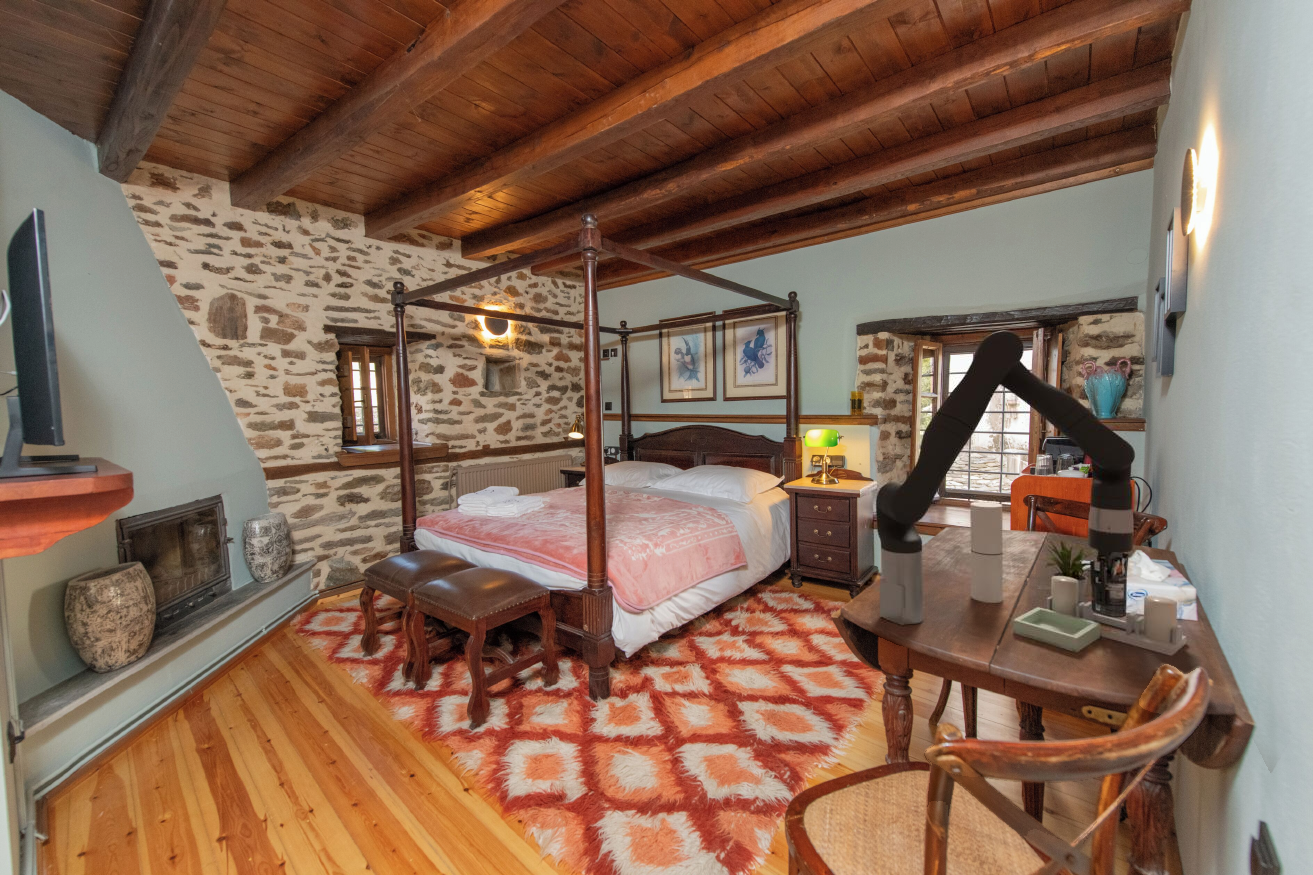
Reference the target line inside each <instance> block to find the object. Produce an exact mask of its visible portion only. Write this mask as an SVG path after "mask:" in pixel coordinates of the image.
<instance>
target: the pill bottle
mask: <svg viewBox="0 0 1313 875" xmlns="http://www.w3.org/2000/svg"><path fill="white" fill-rule="evenodd" d="M1120 572H1121V565H1119V568H1117V571H1116V576H1115V580H1112V581H1111V586H1110V605H1109V606H1107V607H1105V606H1101V605H1098V604H1097V603H1096V587H1094V586H1091V599H1090V600H1091V601H1090V602H1092V611H1093V612H1094V613H1095V614H1099V615H1102V616H1106V617H1111V618H1115V619H1120V618H1126V616H1127V599H1128V598H1127V594H1128V593H1127V590H1128V589H1127V587H1128V584H1127V583H1128V580H1127V578H1126V577H1125V576H1124V575H1123V574H1121V573H1120ZM1107 575H1110V574H1107ZM1100 582H1101V583H1102V579H1101V578H1100Z"/></svg>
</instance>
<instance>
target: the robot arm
mask: <svg viewBox="0 0 1313 875" xmlns="http://www.w3.org/2000/svg"><path fill="white" fill-rule="evenodd" d="M1024 347H1025V346H1024V342H1023V340H1022V339H1021V337H1020V336H1019V335H1018V334H1017V333H1015V332H1014V331H1010V330H1000V331H999V330H997V331H995V332H993V333H991V334H988V335H987V336H985V337H984V338H983V339H982V341H980V343H979V345H977V348H976V350H975V352H974V355H973V359H972V361H971V364H970V365H969V367H968V369H967V371H966V372H965V374H964V375H963V377H962V379H961V380H960V381H959V383H958V384H957V385H956V386H955V388H954V389H953V390H952V391H951V392H950V394H949V395H948V396H947V397H946V398H945V400H944V401H943V402H942V403H941V405H940V406H939V408H937V411H936V412H935V414H934V415H933V417H932V418H931V419H930V421H929V423H928V424H927V427H926V428H925V431H924V432H923V435H922V437H921V438H922V439H921V444H920V448H919V455H918V458H917V461H916V463H915V465H914V467H913V469H912V471H911V472H910V474H909V475H908V476H907V478H906V479H905V481H904V482H899V481H890V482H887V483H885V484H883V486H881V487H880V488H879V490H878V492H877V494H876V500H875V501H876V502H875V514H876V529H877V534H878V537H879V538H878V539H879V540H880V565H881V566H880V570H881V571H880V572H881V575H880V578H881V579H879V617H880V616H882V617H884V618H886V619H888V620H887V621H889V620H890V621H889V622H892V623H896V624H898V625H900V626H904V625H914V624H915V625H917V624H921V623H922V622H923V621H924V594H923V592H924V591H923V586H924V585H923V540H922V537H921V536H920V535H919V533H918V531H917V529H916V526H915V524H916V523H918V522H919V521H920V520H922V519H923V518H924V516H926V514H927V512H928V510H929V508H930V507H931V504H932V502H933V501H934V498H935V496H936V494H937V493H938V490H939V488H940V487H941V484H942V482H943V480H944V478H946V475H947V474H948V472H949V471H950V470H951V468H952V466H953V465H954V463H955V461H956V459H957V458H958V456H959V455H960V454H961V452H962V451H963V449H964V448H965V447H966V445H967V444H968V442H969V440H970V439H971V437H972V436H973V434H974V432H975V431H976V429H977V427H978V425H979V424H980V422H981V420H982V419H983V416H984V414H985V413H986V410H987V408H988V406H989V404H990V402H991V400H992V398H993V396H994V394H995V392H996V390H997V389H998V388H999V387H1000V386H1001V387H1003V388H1005V389H1006V390H1008V391H1009V392H1010V393H1012V394H1013V395H1015V396H1016V397H1018V398H1019V399H1020V400H1022V401H1023V402H1024V403H1025V404H1027V405H1028V406H1030V407H1031V408H1032V409H1034V410H1035V411H1036V412H1037V413H1038V414H1039V415H1040V416H1042V417H1043V418H1044V419H1045V420H1046V421H1047V422H1048V423H1050V425H1051V426H1053V427H1054V428H1055V429H1057V430H1058V431H1059V432H1060V433H1061V434H1062V435H1063V436H1065V437H1066V438H1067V439H1069V440H1070V441H1072V442H1073V443H1074V444H1075V445H1076V446H1077V448H1079V449H1080V450H1081V451H1082V452H1083V453H1084V454H1085V455H1086V456H1087V457H1088V458H1089V459H1090V460H1091V475H1092V476H1091V477H1092V482H1091V488H1090V489H1091V490H1090V507H1089V508H1090V509H1089V514H1088V542H1087V544H1088V546H1089V547H1090V548H1092V549H1093V550H1095V549H1096V551H1097V555H1096V556H1095V557H1094V558H1095V559H1091V560H1090V561H1089V563H1090V565H1089V568H1090V569H1089V570H1090V586H1091V587H1092V586H1094V587H1096V603H1097V604H1098V605H1101V606H1105V607H1107V606H1109V605H1110V586H1111V581H1112V580H1115V576H1116V571H1117V568H1119V565H1121V572H1120V573H1121V574H1123V575H1124V576H1125V577H1126V579H1127V578H1128V568H1129V567H1128V566H1129V556H1130V554H1129V553H1130V552H1132V551H1133V549H1134V514H1133V513H1134V512H1133V496H1134V495H1133V487H1132V484H1131V477H1132V464H1133V462H1134V461H1135V456H1136V453H1135V450H1134V447H1133V446H1132V444H1131V443H1129V442H1128V441H1127V440H1125V439H1124V438H1122V437H1121V436H1120V435H1119V434H1117V433H1116V432H1115V431H1114V430H1112V429H1111V428H1109V426H1107V425H1106V424H1104V423H1103V422H1102V421H1101V420H1100V419H1099V418H1098V417H1097V416H1096V415H1095V413H1093V412H1092V411H1091V410H1090V409H1088V408H1087V407H1086V406H1085V405H1083V404H1082V403H1081V402H1080V401H1078V399H1077V398H1075V397H1074V396H1072V395H1071V394H1069V393H1067V392H1065V391H1064V390H1062V389H1060V388H1058V387H1057V386H1054V385H1052V384H1050V383H1048V382H1046V381H1045V380H1043V379H1041V377H1038V376H1037V375H1035V374H1034V373H1033V372H1031V371H1030V370H1029V369H1028V368H1027V366H1025V364H1024V363H1022V361H1021V359H1022V357H1023V355H1024ZM1107 574H1110V575H1107ZM1100 578H1101V579H1102V583H1101V582H1100ZM886 619H885V620H886Z"/></svg>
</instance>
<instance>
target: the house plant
mask: <svg viewBox="0 0 1313 875" xmlns="http://www.w3.org/2000/svg"><path fill="white" fill-rule="evenodd" d="M1041 538H1043V539H1045V540H1046V541H1048V542H1049V543H1050V544H1051V546H1052V547H1051V546H1050V545H1048V544H1045V543H1043V546H1042V548H1043V549H1045V550H1047V551H1048V552H1049V553H1050V554H1051V555H1052V556H1050V557H1048V558H1047V559H1050V560H1051V562H1049V561H1047V564H1046V565H1045V568H1048V567H1051V566H1053V568H1055V569H1056V570H1057V571H1056V572H1053V573H1052V577H1054V576H1065V577H1070V578H1074V579H1076V580H1078V604H1080V603H1082V602H1084V596H1085V592H1086V588H1087V584H1088V577H1087V576H1085V575H1083V574H1084V573H1085V572H1086V571H1088V570H1090V567H1088V568H1086V569H1084V567H1087V566H1090V562H1086V563H1085V562H1084V563H1083V561H1084V560H1086V558H1088V557H1089V556H1091V554H1092V555H1093V553H1094V552H1096V551H1097V550H1096V549H1092V550H1091V551H1089V552H1087V551H1084V550H1085V547H1086V544H1083V546H1082V548H1080V550H1079V553H1078V554H1077V555H1076V556H1075V557H1073V558H1072V552H1073V548H1074V547H1075V546H1076V545H1077V544H1076V543H1075V544H1074V545H1073V544H1071V546H1070V547H1069V549H1068V548H1067V546H1066V545H1065V543H1064V542H1063V540H1062V539H1061V538H1059V537H1058V538H1057V540H1058V542H1059V543H1060V548H1061V550H1058V549H1057V546H1055V544H1054V543H1053V542H1052V541H1051V540H1049V539H1048V538H1046V537H1043V536H1041ZM1075 540H1076V538H1074V540H1073V541H1075ZM1037 544H1039V545H1040V544H1041V543H1037ZM1044 546H1047V547H1049V549H1051V550H1049V549H1048V548H1047V547H1044ZM1052 551H1053V552H1054V554H1055V555H1056V556H1057V557H1058V558H1057V557H1056V556H1055V555H1054V554H1053V552H1052ZM1086 553H1087V554H1086ZM1071 559H1072V560H1071ZM1038 560H1040V561H1042V559H1038ZM1043 561H1045V562H1046V560H1045V559H1043ZM1055 566H1058V568H1059V569H1060V570H1059V569H1058V568H1057V567H1055Z"/></svg>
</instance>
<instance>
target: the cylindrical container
mask: <svg viewBox="0 0 1313 875" xmlns="http://www.w3.org/2000/svg"><path fill="white" fill-rule="evenodd" d="M969 506H970V514H969V515H970V516H969V517H970V518H969V519H970V597H971V598H972V599H973V600H975V601H979V602H982V603H988V604H989V603H991V604H997V603H1002V602H1003V601H1004V600H1003V595H1004V592H1003V591H1004V590H1003V588H1004V587H1003V586H1004V585H1003V579H1004V578H1003V572H1004V571H1003V570H1004V569H1003V566H1004V565H1003V560H1004V559H1003V550H1004V549H1003V546H1004V545H1003V504H1001V503H997V502H992V501H991V502H990V501H976V502H974V501H973V502H970V505H969Z"/></svg>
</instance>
